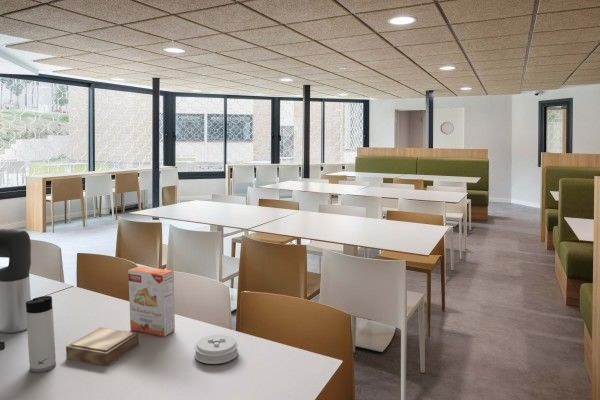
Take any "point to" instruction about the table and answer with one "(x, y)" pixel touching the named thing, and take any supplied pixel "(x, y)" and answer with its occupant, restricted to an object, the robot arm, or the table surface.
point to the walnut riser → (102, 346)
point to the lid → (216, 349)
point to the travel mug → (40, 334)
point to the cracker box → (151, 300)
